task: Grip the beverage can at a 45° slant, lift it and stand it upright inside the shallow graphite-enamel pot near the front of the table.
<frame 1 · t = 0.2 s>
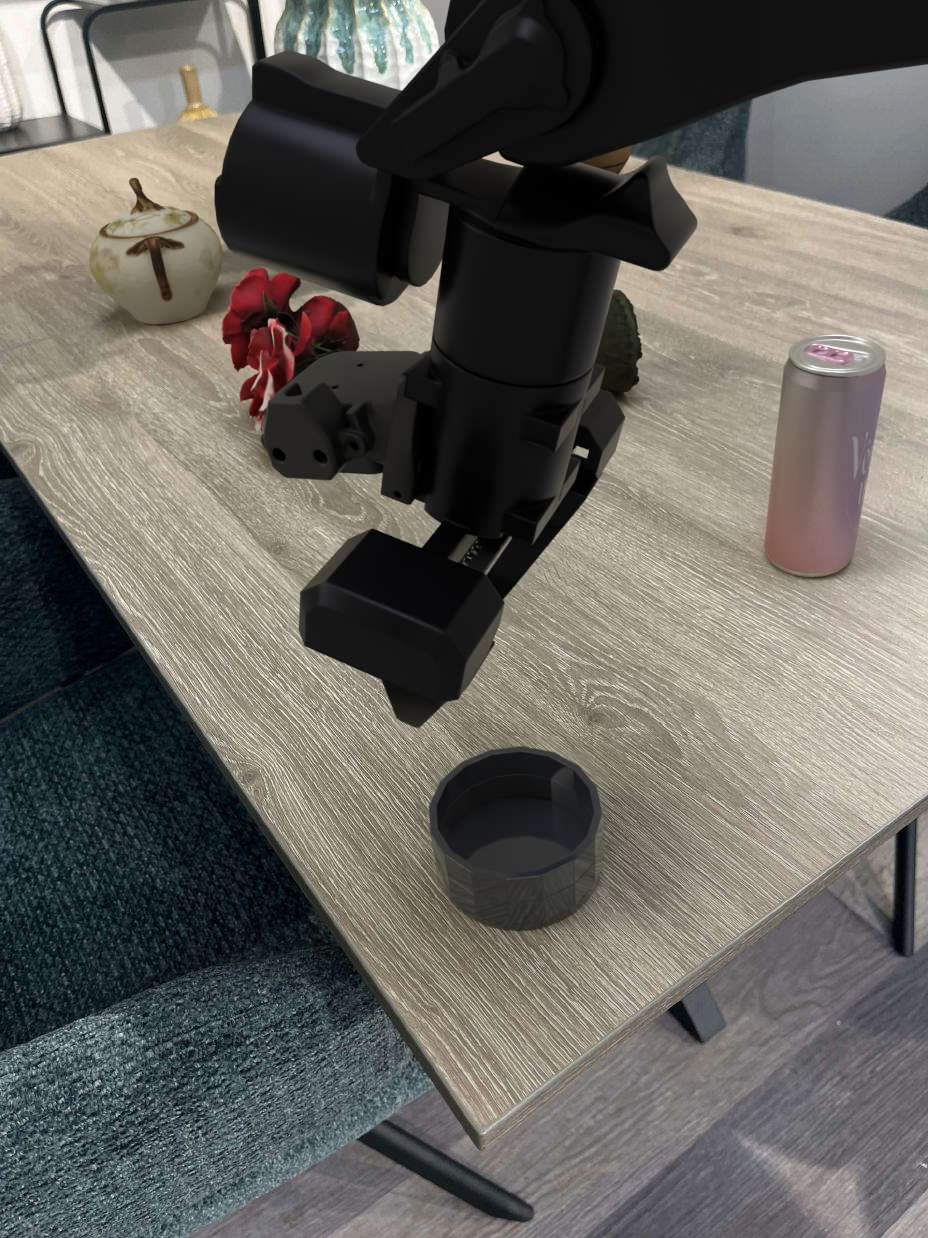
hand: (454, 654, 46), 13 cm above the table, tool pointing down, fingers open, 9 cm apart
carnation: (436, 413, 93), on the table
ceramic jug: (575, 195, 143), on the table
pot: (519, 860, 52), on the table
sugar bowl: (172, 313, 120), on the table
beverage can: (806, 558, 70), on the table
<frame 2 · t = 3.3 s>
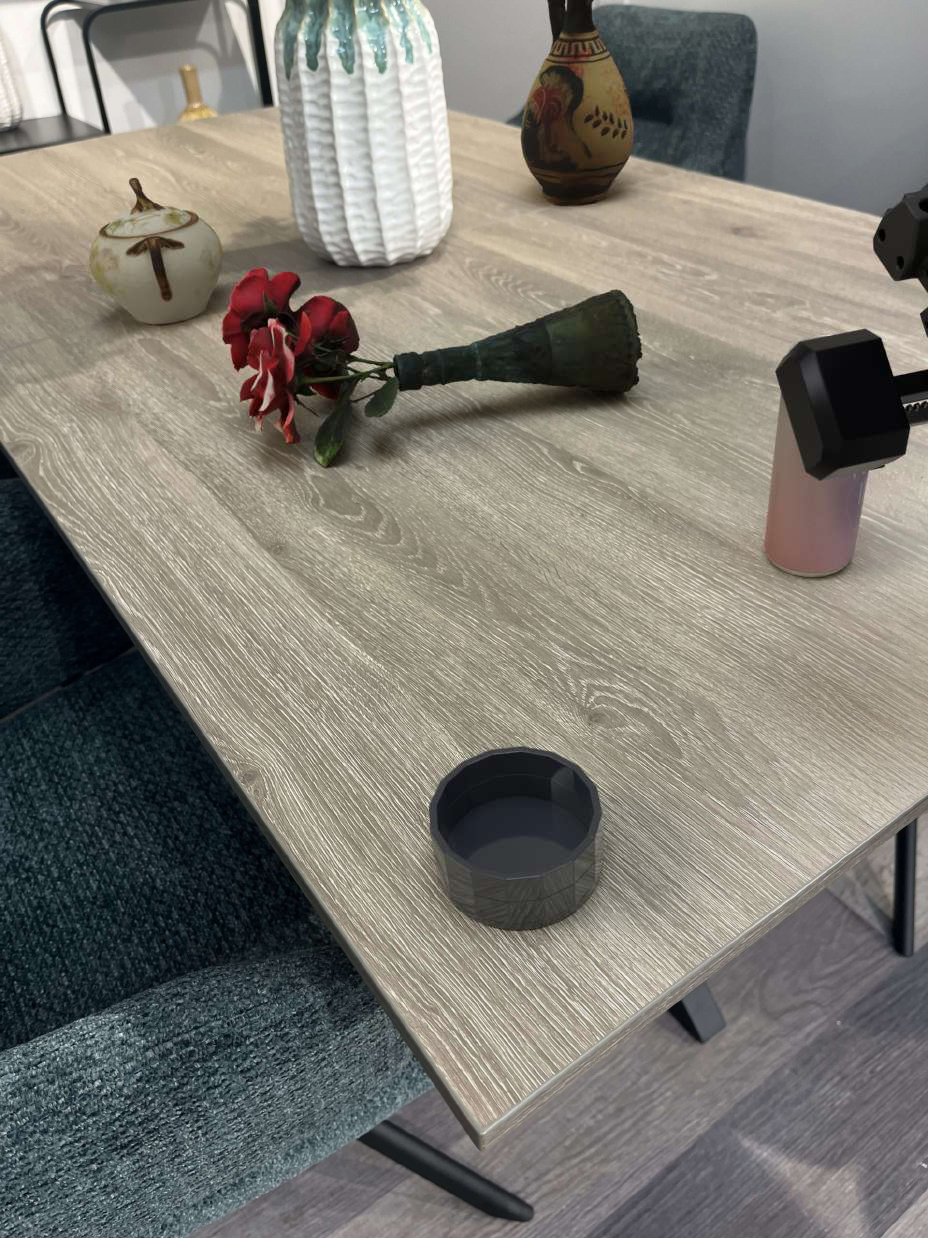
hand: (888, 436, 56), 13 cm above the table, tool tilted 45°, fingers open, 9 cm apart
nothing on the table moved.
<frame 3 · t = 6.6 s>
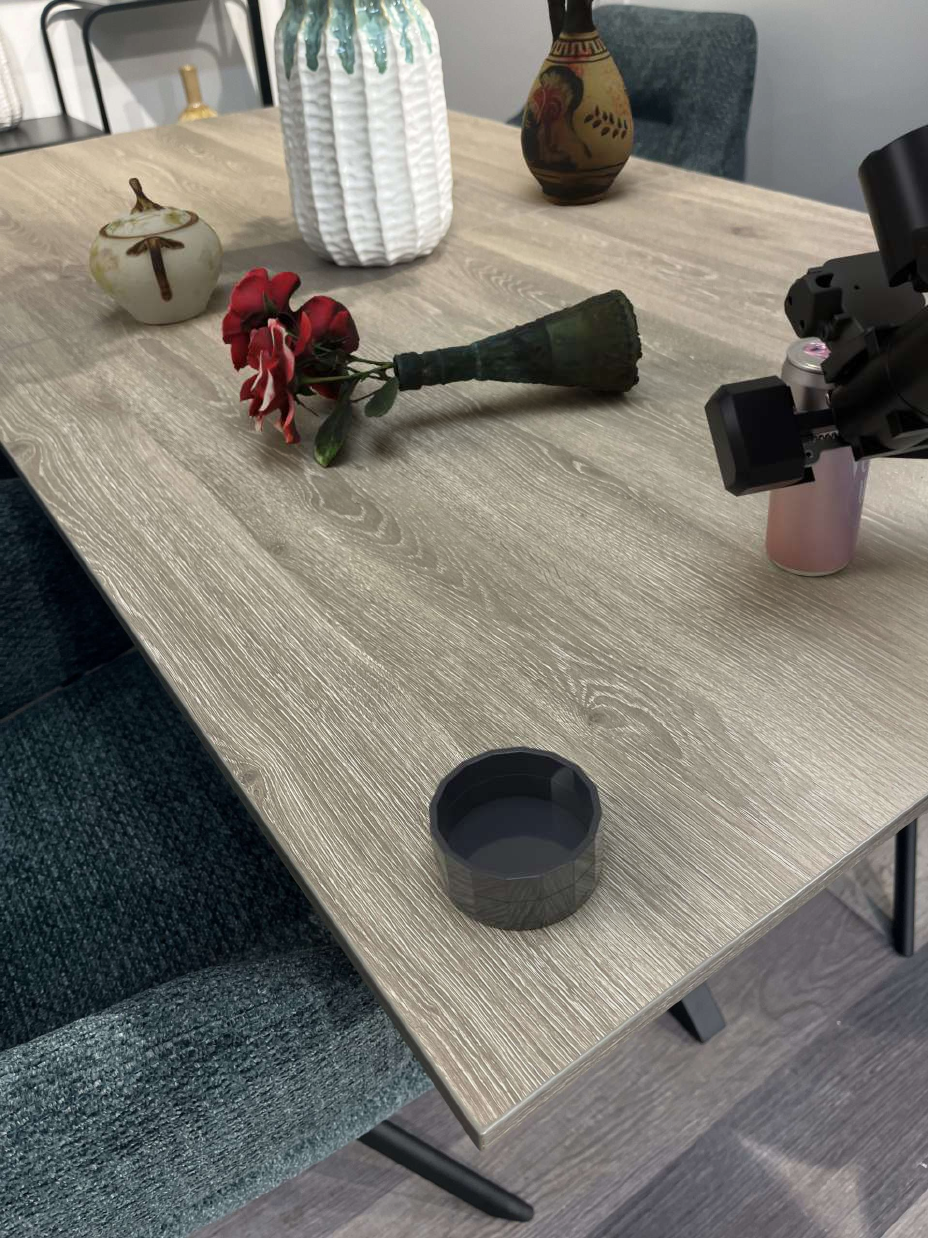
hand: (809, 456, 67), 7 cm above the table, tool tilted 45°, fingers closed on beverage can, 6 cm apart
beverage can: (808, 557, 70), on the table, touching gripper
everything else where it was.
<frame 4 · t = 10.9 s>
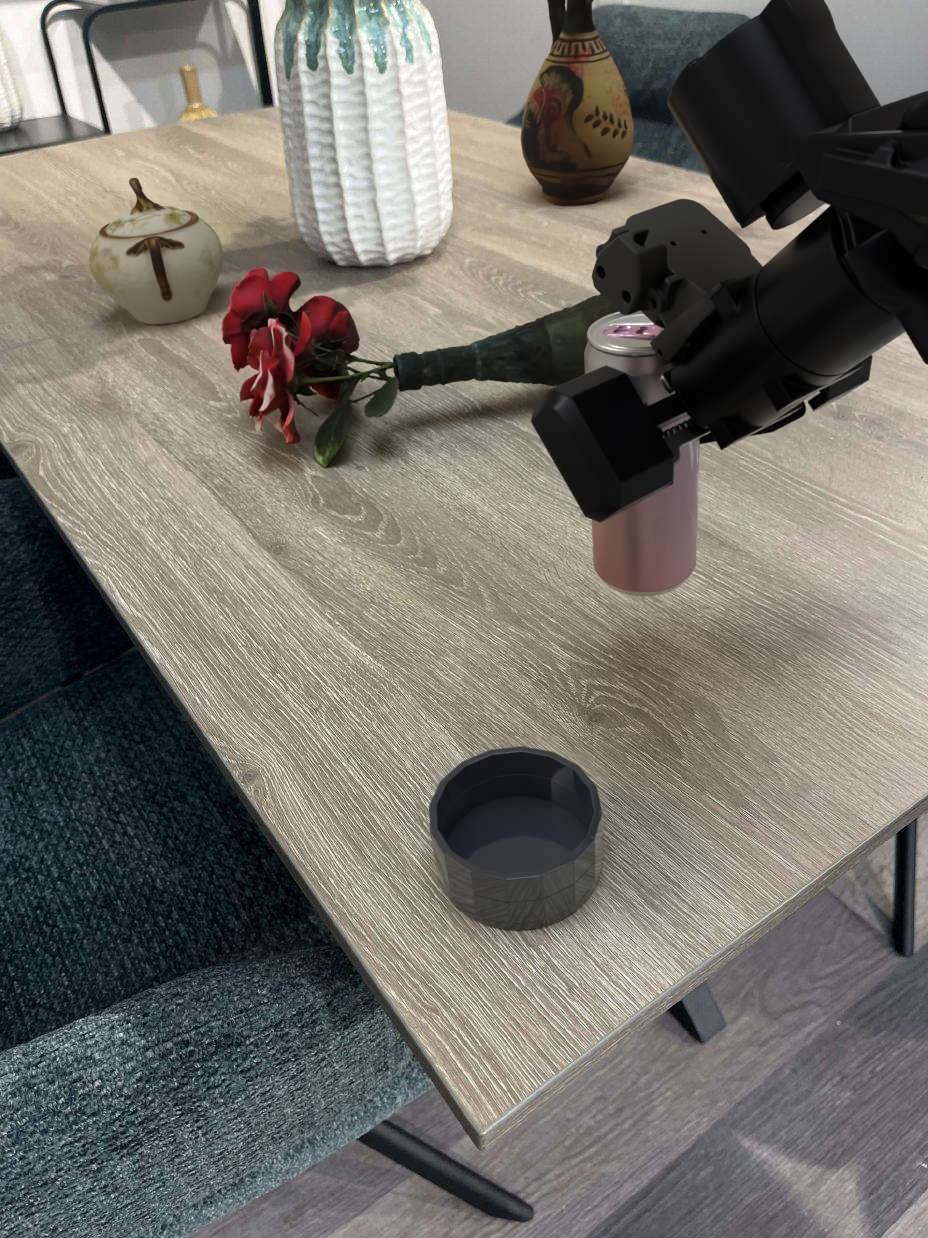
hand: (626, 458, 56), 13 cm above the table, tool tilted 45°, fingers closed on beverage can, 6 cm apart
beverage can: (644, 574, 60), point 6 cm above the table, touching gripper
everything else where it was.
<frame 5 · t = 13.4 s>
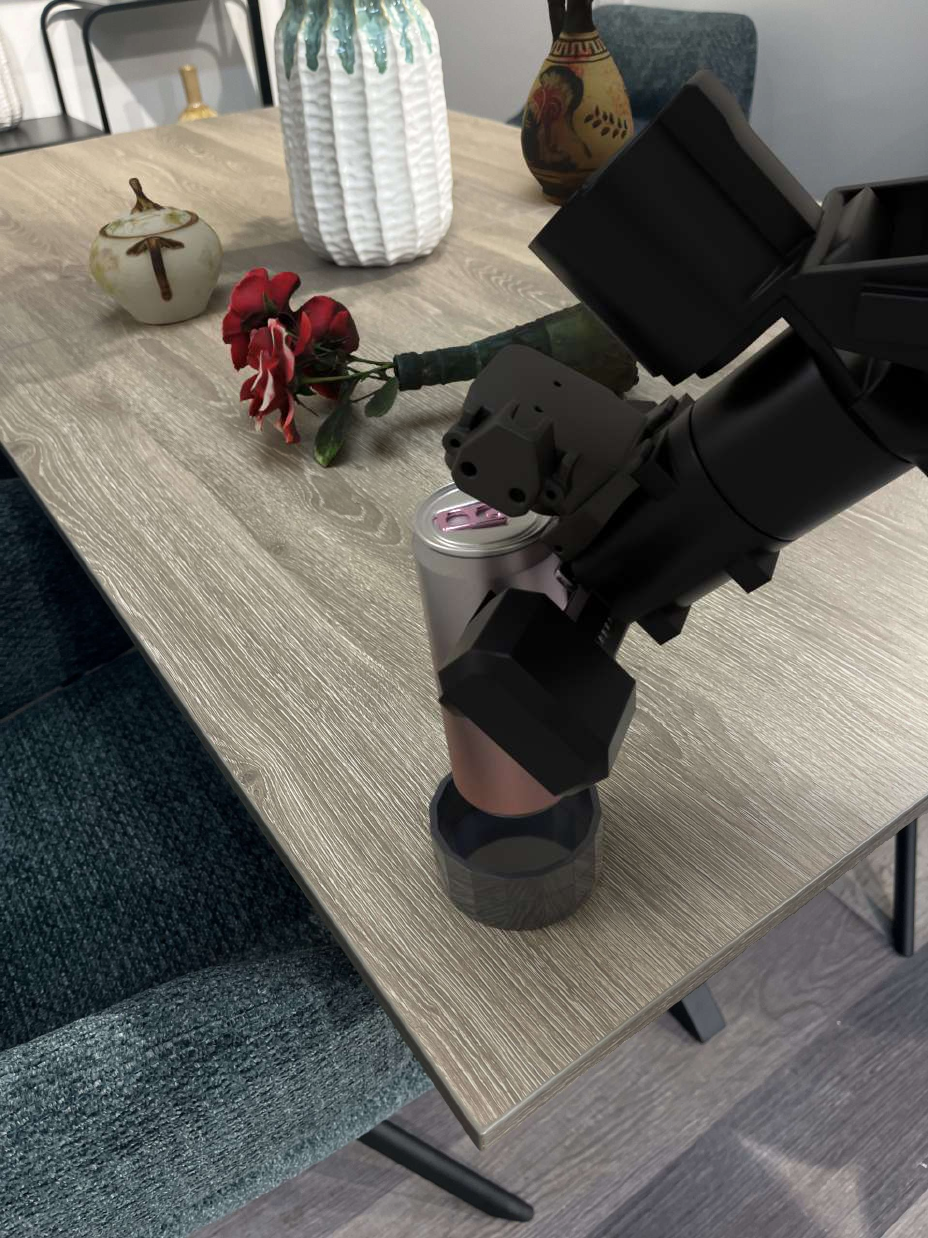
hand: (475, 660, 44), 13 cm above the table, tool tilted 45°, fingers closed on beverage can, 6 cm apart
beverage can: (516, 779, 48), point 6 cm above the table, touching gripper
everything else where it was.
when the fingers open (8 cm above the table, at t = 15.5 s): beverage can stays where it is, resting on pot.
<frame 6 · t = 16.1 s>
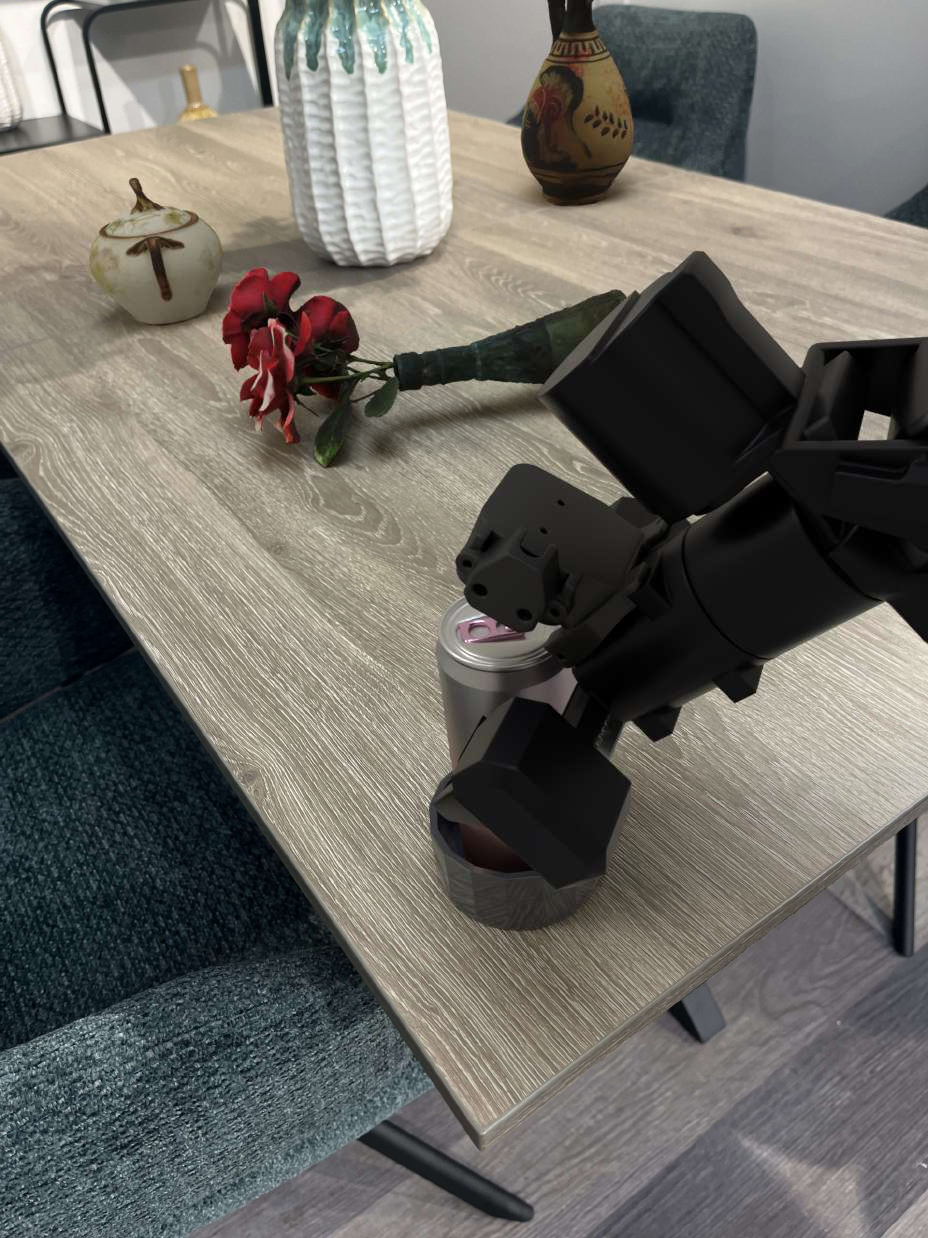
hand: (480, 738, 47), 8 cm above the table, tool tilted 45°, fingers open, 9 cm apart
beverage can: (522, 855, 52), resting on pot
everything else where it was.
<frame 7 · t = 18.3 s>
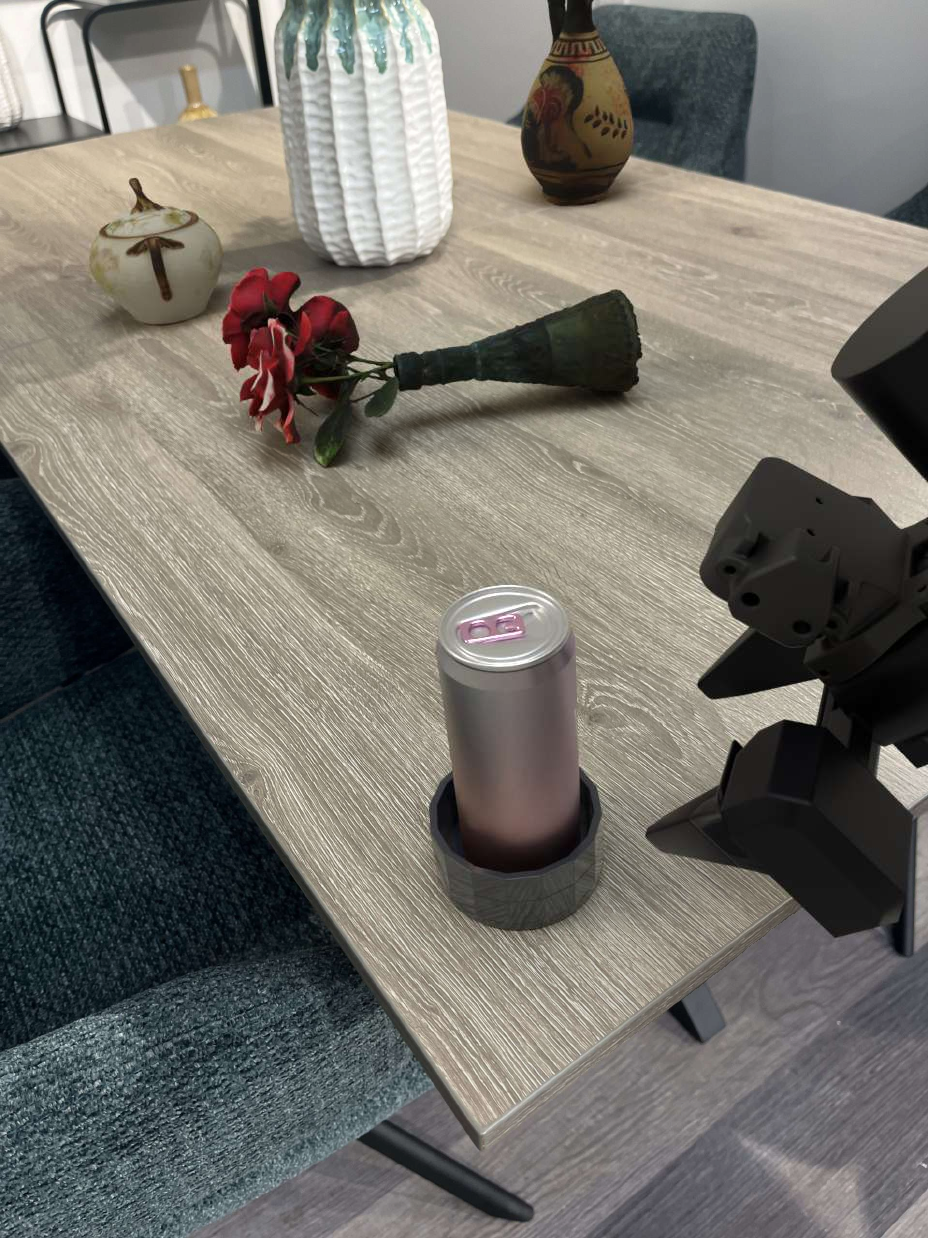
hand: (680, 760, 43), 10 cm above the table, tool tilted 45°, fingers open, 9 cm apart
nothing on the table moved.
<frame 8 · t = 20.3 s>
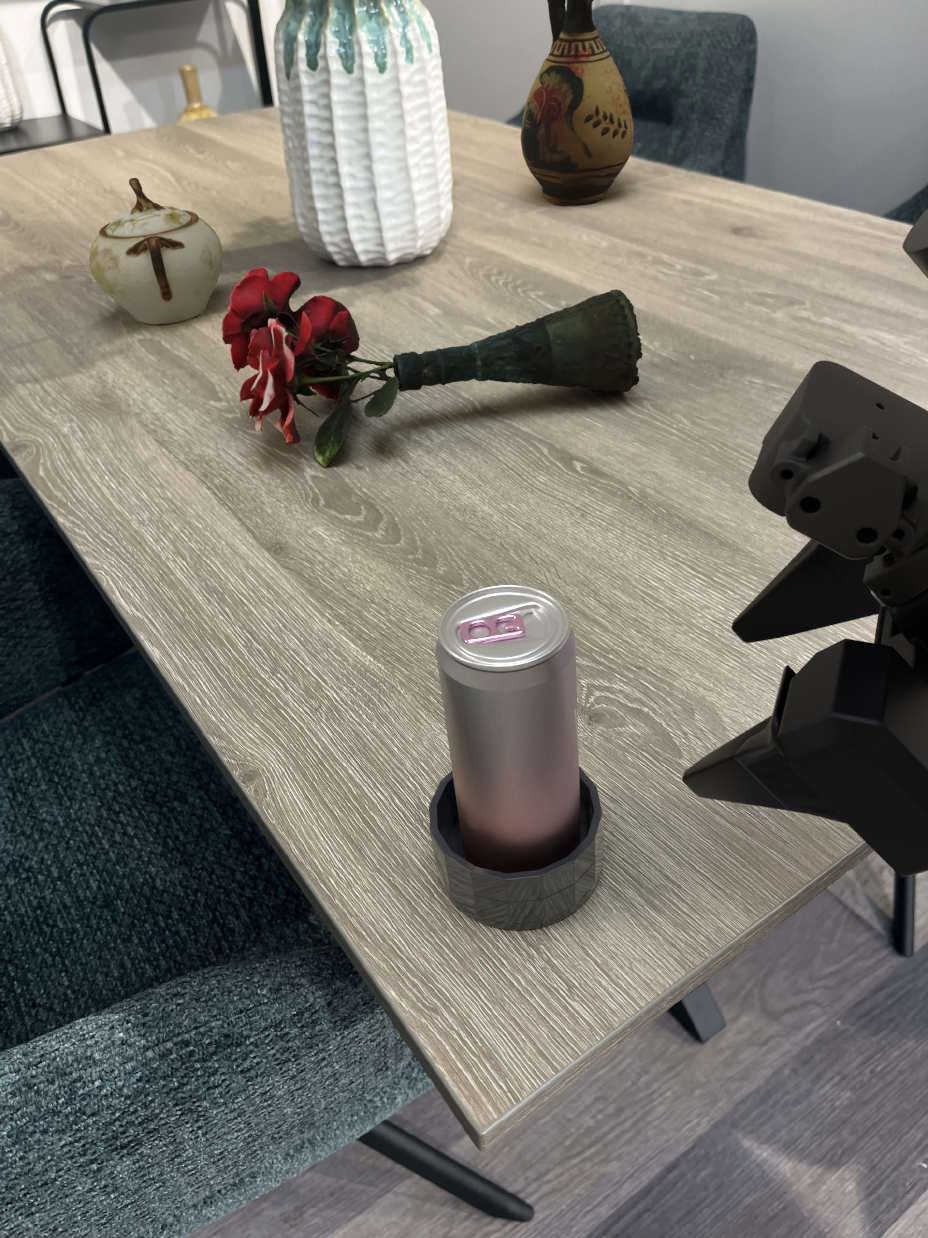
hand: (716, 703, 40), 14 cm above the table, tool tilted 45°, fingers open, 9 cm apart
nothing on the table moved.
at the end: beverage can 0.2 cm off-centre in the pot, point 0.4 cm above the pot's base; beverage can tilted 0° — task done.
